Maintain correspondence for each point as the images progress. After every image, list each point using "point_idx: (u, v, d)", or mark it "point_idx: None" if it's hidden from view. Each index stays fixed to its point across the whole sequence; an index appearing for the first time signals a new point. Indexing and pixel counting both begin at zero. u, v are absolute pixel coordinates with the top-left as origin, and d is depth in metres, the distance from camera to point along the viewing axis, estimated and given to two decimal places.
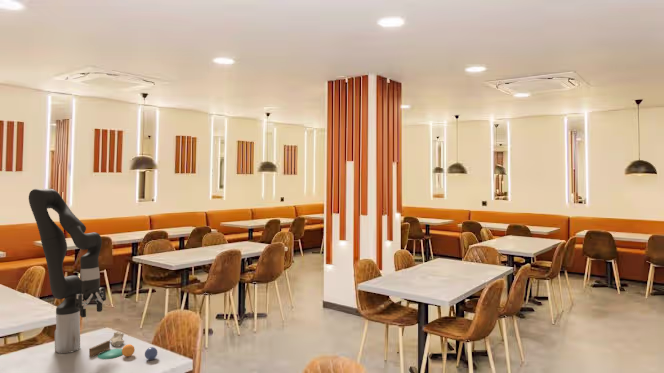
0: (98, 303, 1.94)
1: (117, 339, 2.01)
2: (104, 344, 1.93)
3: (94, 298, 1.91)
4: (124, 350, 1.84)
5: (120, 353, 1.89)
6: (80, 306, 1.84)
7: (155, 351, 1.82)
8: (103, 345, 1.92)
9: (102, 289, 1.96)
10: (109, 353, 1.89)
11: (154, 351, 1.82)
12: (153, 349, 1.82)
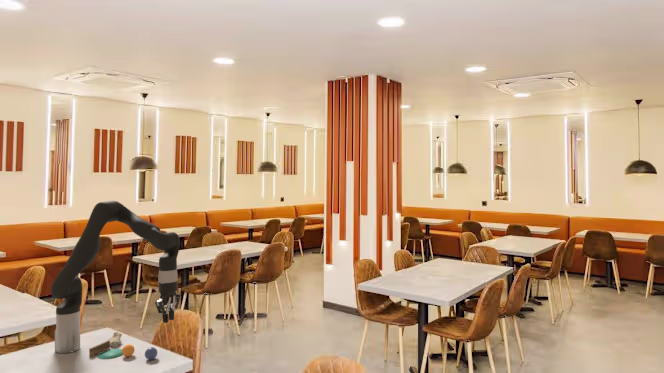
0: (170, 310, 1.81)
1: (115, 339, 2.01)
2: (104, 344, 1.93)
3: (170, 301, 1.80)
4: (124, 350, 1.84)
5: (120, 353, 1.89)
6: (164, 311, 1.76)
7: (155, 351, 1.82)
8: (103, 345, 1.92)
9: (178, 295, 1.85)
10: (109, 353, 1.89)
11: (154, 351, 1.82)
12: (153, 349, 1.82)
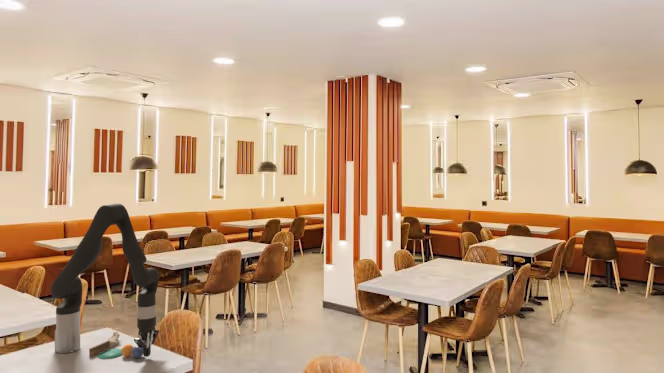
0: None
1: (113, 339, 2.01)
2: (104, 344, 1.93)
3: None
4: (123, 350, 1.84)
5: (120, 353, 1.89)
6: (144, 346, 1.80)
7: None
8: (103, 345, 1.92)
9: (156, 331, 1.88)
10: (109, 353, 1.89)
11: None
12: None
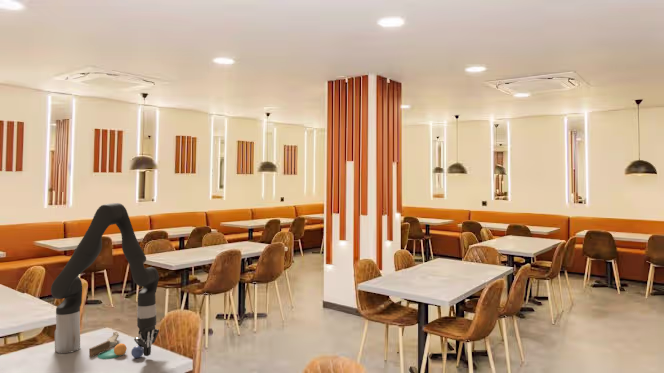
0: None
1: (112, 339, 2.01)
2: (104, 344, 1.93)
3: None
4: (114, 351, 1.86)
5: None
6: (144, 345, 1.80)
7: None
8: (103, 345, 1.92)
9: (156, 330, 1.88)
10: (109, 353, 1.89)
11: None
12: None
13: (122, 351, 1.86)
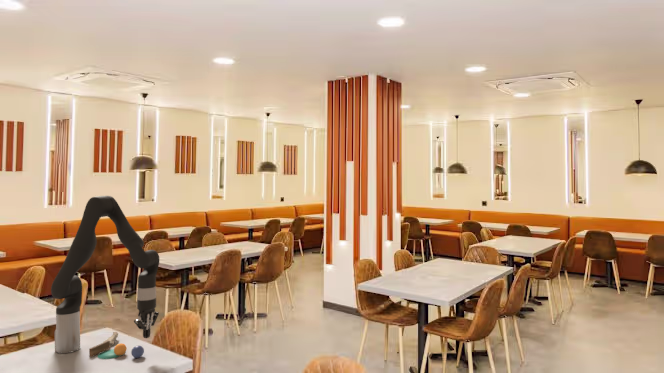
0: None
1: (109, 339, 2.01)
2: (104, 344, 1.93)
3: None
4: (114, 351, 1.86)
5: None
6: (144, 327, 1.80)
7: None
8: (103, 345, 1.92)
9: (156, 313, 1.88)
10: (109, 353, 1.89)
11: None
12: None
13: (122, 351, 1.86)
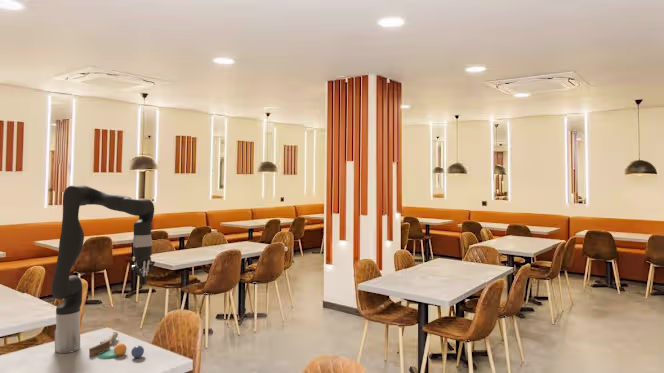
0: None
1: (108, 339, 2.01)
2: (104, 344, 1.93)
3: None
4: (114, 351, 1.86)
5: None
6: (140, 273, 1.84)
7: None
8: (103, 345, 1.92)
9: (152, 261, 1.91)
10: (109, 353, 1.89)
11: None
12: None
13: (122, 351, 1.86)
